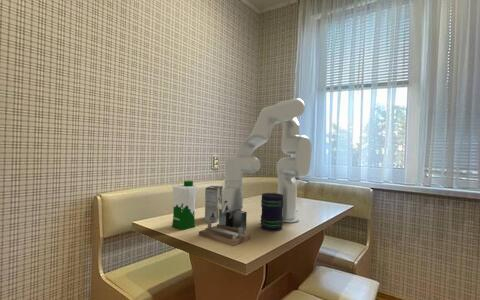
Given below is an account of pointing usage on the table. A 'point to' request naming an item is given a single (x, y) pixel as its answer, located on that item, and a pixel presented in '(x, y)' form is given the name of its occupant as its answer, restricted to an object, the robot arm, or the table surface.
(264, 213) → the storage jar
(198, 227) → the table surface
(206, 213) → the coffee box
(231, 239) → the dock
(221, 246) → the table surface
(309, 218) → the table surface
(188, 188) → the milk carton
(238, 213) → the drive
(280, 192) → the robot arm
